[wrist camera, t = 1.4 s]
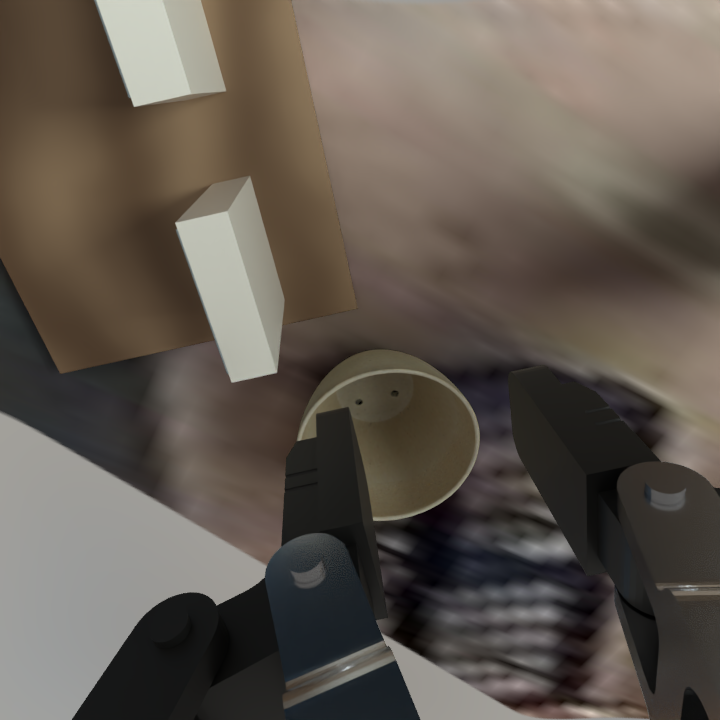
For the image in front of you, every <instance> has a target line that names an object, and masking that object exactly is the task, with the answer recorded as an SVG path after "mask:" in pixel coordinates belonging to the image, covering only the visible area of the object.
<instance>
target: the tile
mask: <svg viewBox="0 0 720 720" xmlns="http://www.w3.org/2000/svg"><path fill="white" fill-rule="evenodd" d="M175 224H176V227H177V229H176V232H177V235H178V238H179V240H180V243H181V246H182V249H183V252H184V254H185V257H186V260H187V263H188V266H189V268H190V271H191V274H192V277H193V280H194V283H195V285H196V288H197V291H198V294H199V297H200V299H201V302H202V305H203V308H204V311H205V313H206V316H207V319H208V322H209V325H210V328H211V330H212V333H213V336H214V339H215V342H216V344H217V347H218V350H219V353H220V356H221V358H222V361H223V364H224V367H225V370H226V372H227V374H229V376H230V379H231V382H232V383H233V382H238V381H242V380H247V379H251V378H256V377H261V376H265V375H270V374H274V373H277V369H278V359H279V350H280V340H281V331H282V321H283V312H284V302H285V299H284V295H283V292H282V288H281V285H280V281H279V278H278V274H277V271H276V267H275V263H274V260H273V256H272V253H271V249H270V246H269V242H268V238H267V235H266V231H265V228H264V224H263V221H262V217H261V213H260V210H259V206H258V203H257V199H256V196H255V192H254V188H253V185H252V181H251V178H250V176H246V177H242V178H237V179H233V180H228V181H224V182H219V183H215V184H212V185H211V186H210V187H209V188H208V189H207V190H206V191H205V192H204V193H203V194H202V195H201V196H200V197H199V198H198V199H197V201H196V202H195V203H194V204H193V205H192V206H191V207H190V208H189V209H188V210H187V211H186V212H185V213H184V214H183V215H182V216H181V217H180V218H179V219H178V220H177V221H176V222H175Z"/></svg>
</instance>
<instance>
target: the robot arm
mask: <svg viewBox="0 0 720 720" xmlns="http://www.w3.org/2000/svg"><path fill="white" fill-rule="evenodd" d="M508 385H509V397H510V408H511V420H512V431H513V437H514V442H515V445H516V449H517V452H518V454H519V457H520V459H521V461H522V462H523V464H524V466H525V468H526V469H527V471H528V473H529V475H530V476H531V478H532V480H533V482H534V483H535V485H536V487H537V489H538V490H539V492H540V494H541V496H542V497H543V499H544V501H545V503H546V504H547V506H548V508H549V510H550V511H551V513H552V515H553V517H554V518H555V520H556V522H557V524H558V525H559V527H560V529H561V531H562V532H563V534H564V536H565V538H566V539H567V541H568V543H569V545H570V546H571V548H572V550H573V552H574V553H575V555H576V557H577V559H578V560H579V562H580V564H581V566H582V567H583V569H584V571H585V573H586V574H587V576H590V575H595V574H599V573H604V572H607V573H608V574H609V576H610V577H611V579H612V581H613V582H614V584H615V594H614V601H615V606H616V609H617V612H618V616H619V619H620V622H621V625H622V628H623V632H624V635H625V638H626V641H627V644H628V648H629V651H630V654H631V657H632V661H633V664H634V667H635V670H636V673H637V677H638V680H639V683H640V686H641V689H642V693H643V696H644V699H645V702H646V706H647V710H648V714H649V719H650V720H720V488H714V487H713V486H712V485H711V484H710V482H709V481H708V480H707V479H706V478H704V477H703V476H702V475H700V474H699V473H697V472H695V471H693V470H692V469H689V468H687V467H684V466H681V465H678V464H674V463H668V462H661V461H660V460H659V459H658V458H657V456H656V455H655V454H654V453H653V452H652V451H651V450H650V449H649V448H648V447H647V446H646V445H645V444H644V443H643V442H642V441H641V439H640V438H639V437H638V436H637V435H636V434H635V433H634V432H633V431H632V430H631V429H630V428H629V427H628V426H627V425H626V423H625V422H624V421H621V420H620V417H619V416H618V415H617V414H616V413H615V412H614V411H613V410H612V409H610V408H609V405H608V404H607V403H606V402H605V401H604V400H603V399H602V398H601V397H600V396H599V395H598V394H597V393H596V392H595V391H593V390H591V389H589V388H587V387H585V386H583V385H581V384H578V383H576V382H570V383H566V384H561V383H560V381H559V380H558V379H557V378H556V377H555V376H554V374H553V373H552V372H551V371H550V370H549V369H548V367H547V366H545V365H540V366H535V367H531V368H526V369H522V370H517V371H512V372H510V373H509V376H508ZM285 475H286V479H285V493H284V510H283V527H282V545H281V548H279V550H278V551H277V552H276V553H275V554H274V555H273V556H272V558H271V559H270V561H269V563H268V565H267V568H266V572H265V578H264V579H262V580H261V581H260V582H259V583H258V584H256V585H255V586H253V587H252V588H250V589H249V590H247V591H245V592H243V593H241V594H239V595H237V596H235V597H233V598H231V599H229V600H227V601H225V602H223V603H221V604H219V605H217V606H216V604H215V603H214V601H213V600H212V599H211V598H209V597H208V596H206V595H204V594H200V593H183V594H179V595H176V596H173V597H170V598H168V599H166V600H165V601H163V602H161V603H159V604H158V605H156V606H155V607H153V608H152V609H151V610H150V611H149V612H148V613H146V614H145V615H144V616H143V618H142V619H141V620H140V621H139V622H138V624H137V625H136V626H135V628H134V629H133V631H132V632H131V634H130V635H129V636H128V638H127V639H126V641H125V642H124V644H123V645H122V647H121V648H120V650H119V651H118V653H117V654H116V656H115V657H114V658H113V660H112V661H111V663H110V664H109V666H108V667H107V669H106V670H105V672H104V673H103V675H102V676H101V678H100V679H99V680H98V682H97V684H96V685H95V687H94V688H93V689H92V691H91V692H90V694H89V695H88V697H87V698H86V700H85V701H84V703H83V704H82V705H81V707H80V708H79V710H78V711H77V713H76V714H75V716H74V717H73V719H72V720H420V717H419V715H418V712H417V710H416V708H415V705H414V703H413V700H412V698H411V695H410V693H409V690H408V688H407V686H406V683H405V681H404V678H403V676H402V673H401V671H400V669H399V666H398V664H397V661H396V659H395V657H394V655H393V652H392V650H391V649H390V647H389V646H388V647H387V646H386V644H385V641H384V639H383V636H382V634H381V632H380V629H379V627H378V624H377V622H376V620H379V619H383V618H388V615H387V609H386V602H385V595H384V589H383V582H382V576H381V569H380V562H379V556H378V549H377V543H376V536H375V529H374V523H373V516H372V509H371V503H370V496H369V490H368V484H367V479H366V474H365V469H364V465H363V461H362V457H361V453H360V449H359V445H358V440H357V436H356V432H355V428H354V424H353V420H352V416H351V412H350V409H349V407H345V408H340V409H336V410H331V411H326V412H322V413H317V414H316V437H314V438H310V439H305V440H300V441H297V442H296V443H295V445H294V447H293V448H292V450H291V451H290V453H289V455H288V456H287V458H286V474H285Z"/></svg>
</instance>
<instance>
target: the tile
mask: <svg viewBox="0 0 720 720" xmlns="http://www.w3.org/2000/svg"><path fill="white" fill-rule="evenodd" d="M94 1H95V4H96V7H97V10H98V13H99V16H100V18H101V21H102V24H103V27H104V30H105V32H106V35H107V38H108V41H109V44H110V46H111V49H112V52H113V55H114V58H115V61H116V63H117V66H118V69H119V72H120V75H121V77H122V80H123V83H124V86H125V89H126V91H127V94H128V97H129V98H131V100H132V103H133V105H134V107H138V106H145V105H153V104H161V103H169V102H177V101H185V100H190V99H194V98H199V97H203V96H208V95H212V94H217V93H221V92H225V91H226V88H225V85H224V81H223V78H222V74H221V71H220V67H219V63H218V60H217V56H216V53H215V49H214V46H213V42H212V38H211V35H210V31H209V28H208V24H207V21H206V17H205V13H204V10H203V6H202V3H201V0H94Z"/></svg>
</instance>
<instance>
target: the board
mask: <svg viewBox="0 0 720 720" xmlns="http://www.w3.org/2000/svg"><path fill="white" fill-rule="evenodd" d="M201 3H202V6H203V10H204V13H205V17H206V21H207V24H208V28H209V31H210V35H211V38H212V42H213V46H214V49H215V53H216V56H217V60H218V63H219V67H220V71H221V74H222V78H223V81H224V85H225V88H226V91H225V92H221V93H217V94H212V95H208V96H203V97H199V98H194V99H190V100H185V101H177V102H169V103H161V104H153V105H145V106H138V107H134V105H133V103H132V100H131V98H129V97H128V94H127V91H126V89H125V86H124V83H123V80H122V77H121V75H120V72H119V69H118V66H117V63H116V61H115V58H114V55H113V52H112V49H111V46H110V44H109V41H108V38H107V35H106V32H105V30H104V27H103V24H102V21H101V18H100V16H99V13H98V10H97V7H96V4H95V1H94V0H0V258H1V260H2V262H3V264H4V266H5V268H6V270H7V272H8V273H9V275H10V277H11V279H12V281H13V283H14V285H15V287H16V289H17V291H18V293H19V295H20V297H21V299H22V301H23V303H24V304H25V306H26V308H27V310H28V312H29V314H30V316H31V318H32V320H33V322H34V324H35V326H36V328H37V330H38V332H39V334H40V335H41V337H42V339H43V341H44V343H45V345H46V347H47V349H48V351H49V353H50V355H51V357H52V359H53V361H54V363H55V364H56V366H57V368H58V370H59V372H60V374H62V373H67V372H71V371H76V370H80V369H85V368H89V367H94V366H99V365H103V364H108V363H112V362H117V361H121V360H126V359H131V358H135V357H140V356H144V355H149V354H153V353H158V352H163V351H167V350H172V349H176V348H181V347H185V346H190V345H195V344H199V343H204V342H208V341H213V340H215V339H214V336H213V333H212V330H211V328H210V325H209V322H208V319H207V316H206V313H205V311H204V308H203V305H202V302H201V299H200V297H199V294H198V291H197V288H196V285H195V283H194V280H193V277H192V274H191V271H190V268H189V266H188V263H187V260H186V257H185V254H184V252H183V249H182V246H181V243H180V240H179V238H178V235H177V232H176V229H177V227H176V224H175V222H176V221H177V220H178V219H179V218H180V217H181V216H182V215H183V214H184V213H185V212H186V211H187V210H188V209H189V208H190V207H191V206H192V205H193V204H194V203H195V202H196V201H197V199H198V198H199V197H200V196H201V195H202V194H203V193H204V192H205V191H206V190H207V189H208V188H209V187H210V186H211V185H212V184H215V183H219V182H224V181H228V180H233V179H237V178H242V177H246V176H250V178H251V181H252V185H253V188H254V192H255V196H256V199H257V203H258V206H259V210H260V213H261V217H262V221H263V224H264V228H265V231H266V235H267V238H268V242H269V246H270V249H271V253H272V256H273V260H274V263H275V267H276V271H277V274H278V278H279V281H280V285H281V288H282V292H283V295H284V299H285V302H284V312H283V321H282V325H286V324H290V323H295V322H300V321H304V320H309V319H313V318H318V317H322V316H327V315H331V314H336V313H341V312H345V311H350V310H354V309H358V308H357V303H356V298H355V294H354V289H353V285H352V280H351V275H350V271H349V266H348V261H347V257H346V252H345V248H344V243H343V238H342V234H341V229H340V224H339V220H338V215H337V211H336V206H335V201H334V197H333V192H332V187H331V183H330V178H329V173H328V169H327V164H326V160H325V155H324V150H323V146H322V141H321V136H320V132H319V127H318V123H317V118H316V113H315V109H314V104H313V99H312V95H311V90H310V86H309V81H308V76H307V72H306V67H305V62H304V58H303V53H302V49H301V44H300V39H299V35H298V30H297V25H296V21H295V16H294V12H293V7H292V2H291V0H201Z"/></svg>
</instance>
